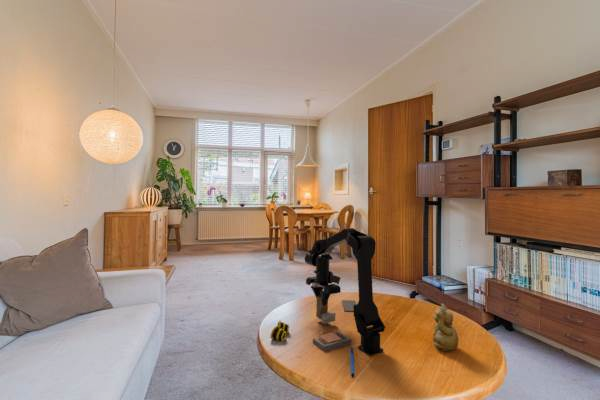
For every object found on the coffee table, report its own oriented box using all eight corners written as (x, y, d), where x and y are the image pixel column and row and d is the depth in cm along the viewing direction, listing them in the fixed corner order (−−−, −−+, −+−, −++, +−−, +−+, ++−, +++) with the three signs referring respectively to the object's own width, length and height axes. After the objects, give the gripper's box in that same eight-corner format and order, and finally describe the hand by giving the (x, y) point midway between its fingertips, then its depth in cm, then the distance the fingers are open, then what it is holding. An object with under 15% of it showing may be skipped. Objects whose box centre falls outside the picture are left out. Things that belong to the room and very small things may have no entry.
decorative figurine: (434, 339, 115) (434, 300, 116) (458, 344, 112) (459, 304, 112) (432, 350, 107) (432, 308, 107) (458, 356, 103) (459, 312, 103)
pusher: (335, 320, 128) (335, 299, 128) (323, 323, 125) (324, 302, 125) (325, 314, 135) (325, 294, 135) (313, 317, 132) (314, 296, 132)
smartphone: (344, 310, 144) (341, 299, 159) (344, 312, 144) (341, 301, 159) (359, 311, 143) (355, 300, 158) (358, 313, 143) (355, 302, 158)
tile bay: (351, 343, 112) (351, 339, 112) (324, 351, 106) (324, 346, 106) (338, 335, 118) (338, 331, 118) (312, 342, 112) (312, 338, 112)
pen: (352, 348, 108) (352, 345, 108) (354, 379, 90) (354, 375, 90) (350, 348, 108) (350, 345, 108) (351, 379, 90) (351, 375, 90)
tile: (341, 344, 112) (341, 338, 112) (328, 347, 109) (328, 342, 109) (332, 337, 117) (332, 332, 117) (319, 341, 114) (319, 335, 114)
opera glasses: (282, 345, 112) (285, 332, 112) (269, 340, 113) (271, 327, 113) (289, 333, 121) (291, 321, 121) (276, 329, 122) (279, 318, 122)
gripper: (350, 271, 128) (350, 308, 128) (325, 263, 144) (325, 295, 144) (329, 274, 122) (329, 312, 122) (305, 265, 138) (305, 299, 138)
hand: (322, 304), depth 132 cm, fingers closed on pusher, 3 cm apart
